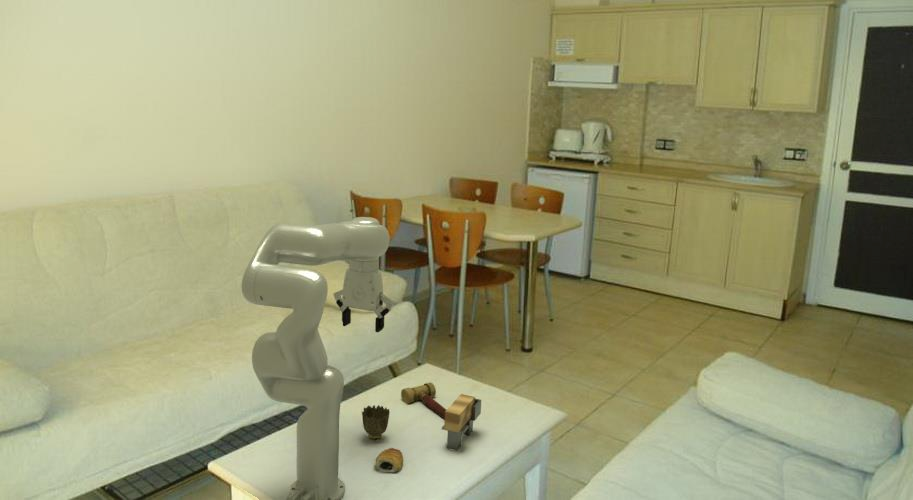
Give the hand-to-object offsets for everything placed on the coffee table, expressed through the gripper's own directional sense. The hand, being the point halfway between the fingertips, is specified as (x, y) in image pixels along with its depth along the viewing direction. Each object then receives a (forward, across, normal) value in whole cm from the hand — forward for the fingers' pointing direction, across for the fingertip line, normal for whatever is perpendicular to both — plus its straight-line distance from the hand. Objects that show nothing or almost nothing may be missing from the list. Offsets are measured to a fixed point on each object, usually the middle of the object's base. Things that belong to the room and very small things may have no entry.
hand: (362, 327), depth 188 cm
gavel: (+31, +12, +22) cm, 40 cm away
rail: (+24, +26, +7) cm, 36 cm away
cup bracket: (+30, +26, +13) cm, 42 cm away
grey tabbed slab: (+30, +26, +4) cm, 40 cm away
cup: (+31, +5, -1) cm, 31 cm away
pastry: (+31, +14, -12) cm, 36 cm away
